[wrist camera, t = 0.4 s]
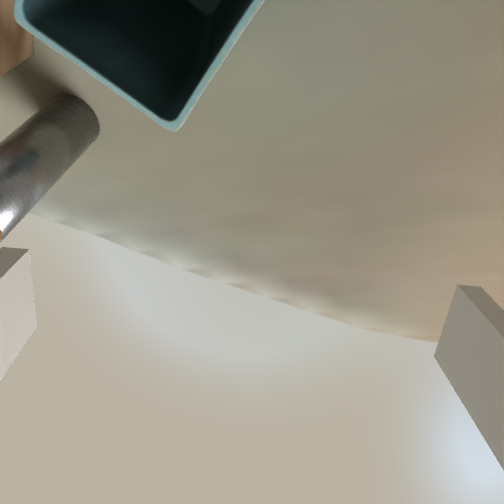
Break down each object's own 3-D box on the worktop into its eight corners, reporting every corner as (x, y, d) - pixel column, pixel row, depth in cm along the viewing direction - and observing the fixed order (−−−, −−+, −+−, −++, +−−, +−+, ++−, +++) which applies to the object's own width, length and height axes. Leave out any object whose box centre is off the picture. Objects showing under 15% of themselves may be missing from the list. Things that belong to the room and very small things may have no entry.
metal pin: (48, 85, 34) (-101, 203, 24) (101, 107, 34) (-26, 233, 24) (49, 131, 37) (-84, 254, 27) (98, 151, 37) (-16, 279, 27)
